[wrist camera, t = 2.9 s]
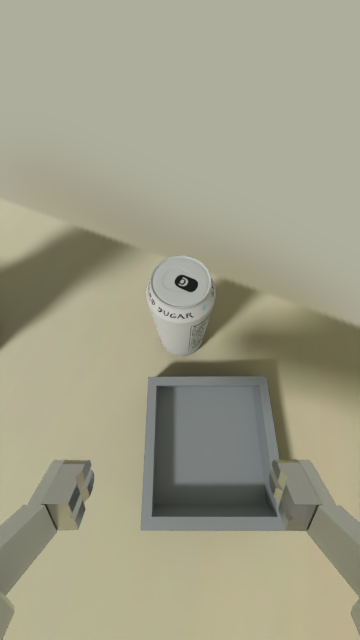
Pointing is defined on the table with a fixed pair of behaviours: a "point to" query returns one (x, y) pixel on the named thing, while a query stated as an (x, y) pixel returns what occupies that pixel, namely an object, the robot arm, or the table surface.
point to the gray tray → (209, 455)
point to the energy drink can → (181, 303)
